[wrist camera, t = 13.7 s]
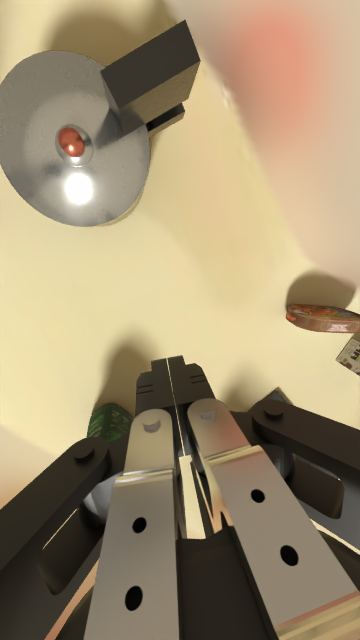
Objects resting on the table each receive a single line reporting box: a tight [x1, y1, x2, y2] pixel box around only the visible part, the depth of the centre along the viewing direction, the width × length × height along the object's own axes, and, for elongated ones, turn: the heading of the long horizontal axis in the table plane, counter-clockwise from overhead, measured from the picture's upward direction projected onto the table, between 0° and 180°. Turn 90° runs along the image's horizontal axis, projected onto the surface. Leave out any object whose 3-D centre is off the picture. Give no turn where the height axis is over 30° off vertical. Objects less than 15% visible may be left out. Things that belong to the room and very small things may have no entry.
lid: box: [0, 20, 201, 227], centre depth 25 cm, size 22×17×7 cm
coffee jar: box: [87, 404, 134, 443], centre depth 45 cm, size 10×8×19 cm
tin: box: [286, 304, 360, 333], centre depth 48 cm, size 15×3×8 cm, turn 84°
